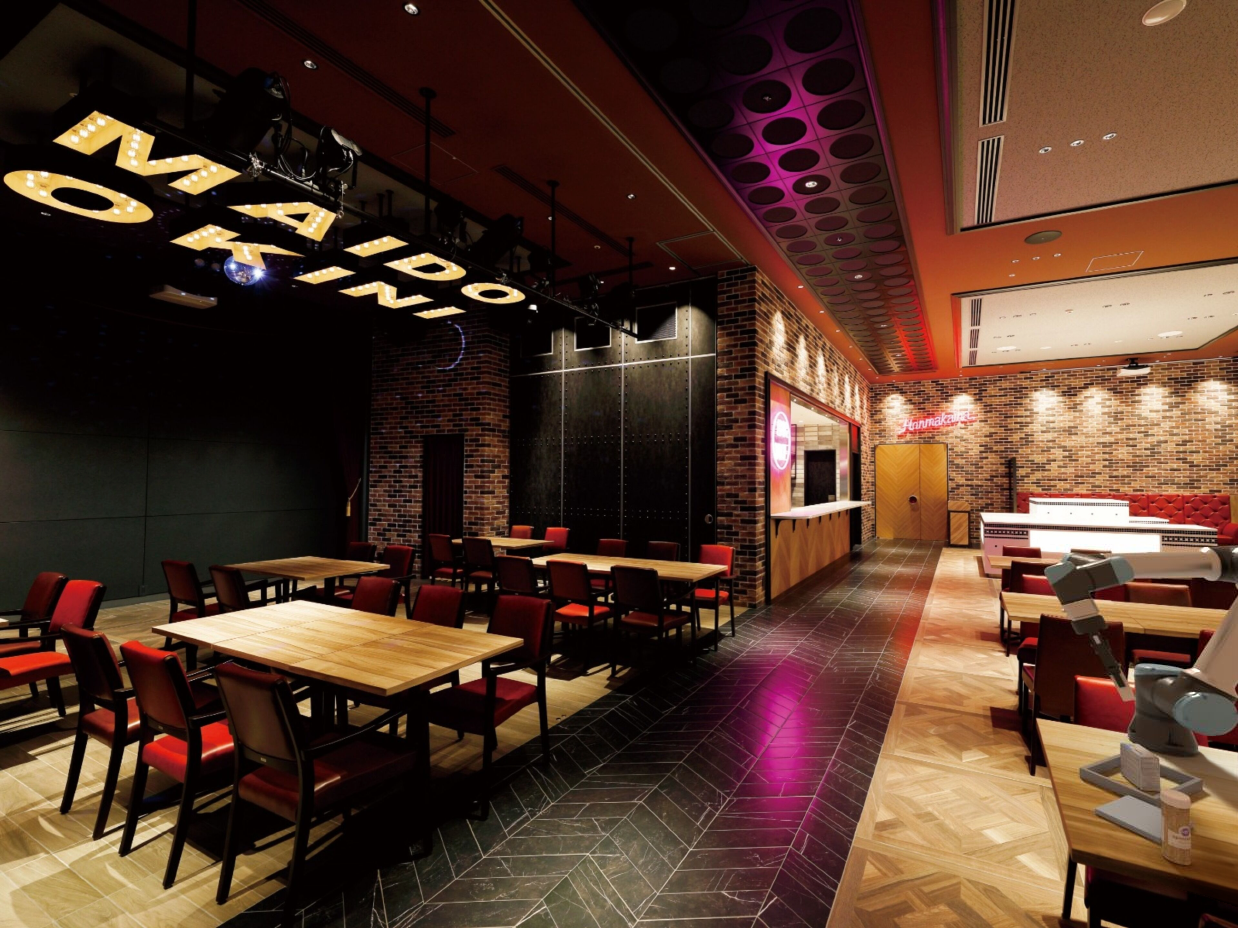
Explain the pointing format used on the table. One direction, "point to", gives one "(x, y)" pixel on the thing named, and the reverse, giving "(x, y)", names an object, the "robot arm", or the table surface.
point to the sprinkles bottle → (1175, 826)
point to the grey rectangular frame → (1092, 775)
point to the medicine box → (1140, 767)
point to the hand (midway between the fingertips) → (1128, 696)
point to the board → (1134, 816)
